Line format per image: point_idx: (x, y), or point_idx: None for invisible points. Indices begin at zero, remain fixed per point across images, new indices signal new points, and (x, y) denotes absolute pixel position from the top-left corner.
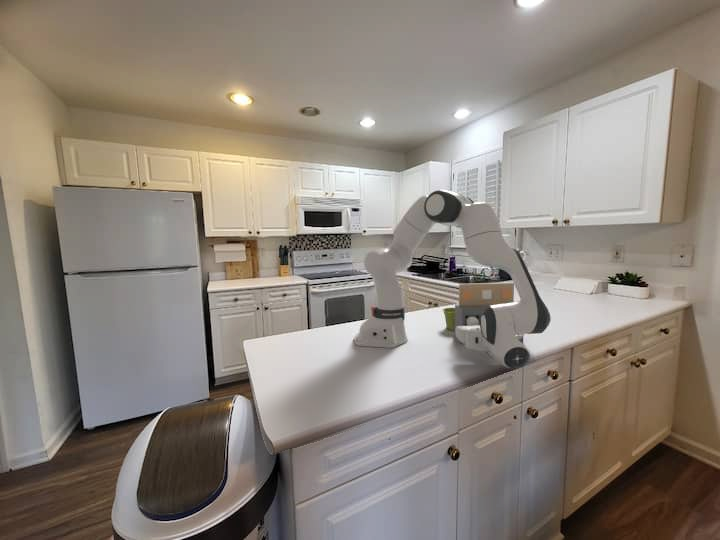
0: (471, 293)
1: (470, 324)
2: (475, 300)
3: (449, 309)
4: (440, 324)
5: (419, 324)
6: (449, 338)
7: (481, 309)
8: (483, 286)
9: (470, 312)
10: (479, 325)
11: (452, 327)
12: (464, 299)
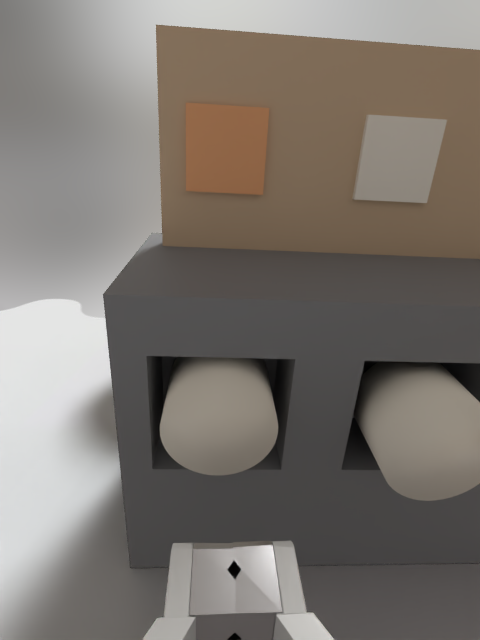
0: (265, 138)
1: (193, 446)
2: (296, 210)
3: None
4: None
5: (65, 326)
6: (102, 464)
7: (325, 300)
8: (383, 74)
9: (200, 327)
10: (225, 617)
11: None
12: (203, 194)
